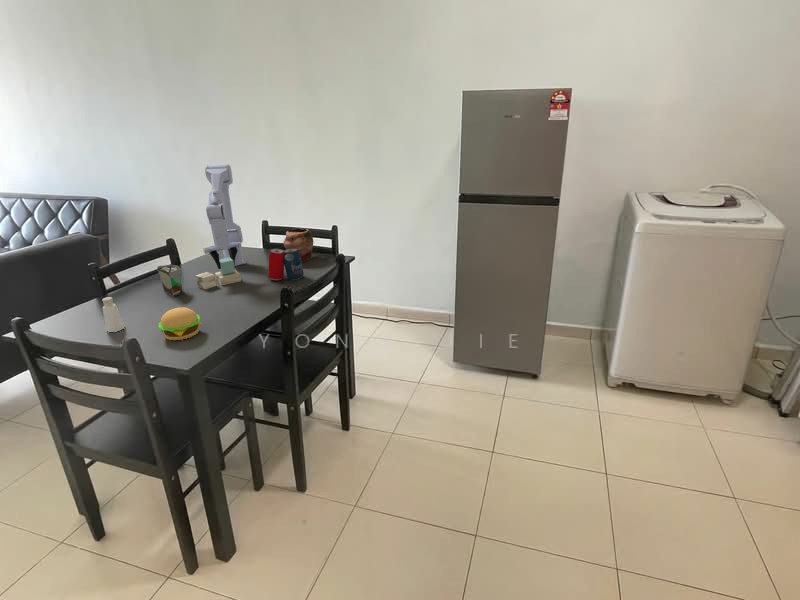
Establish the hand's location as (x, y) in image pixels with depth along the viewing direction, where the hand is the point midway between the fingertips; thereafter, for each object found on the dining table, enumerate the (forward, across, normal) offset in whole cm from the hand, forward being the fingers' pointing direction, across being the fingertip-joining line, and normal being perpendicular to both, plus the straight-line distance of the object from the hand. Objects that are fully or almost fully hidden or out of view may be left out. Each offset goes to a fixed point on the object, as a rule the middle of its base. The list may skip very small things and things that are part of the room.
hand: (226, 267), depth 186 cm
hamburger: (+6, -28, -40) cm, 49 cm away
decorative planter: (+6, +37, +7) cm, 38 cm away
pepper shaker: (+6, -44, -22) cm, 50 cm away
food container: (+6, -20, +1) cm, 21 cm away
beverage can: (+6, +15, -12) cm, 20 cm away
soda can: (+6, +23, -16) cm, 28 cm away
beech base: (+6, 0, 0) cm, 6 cm away
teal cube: (+2, 0, 0) cm, 2 cm away
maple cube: (+6, -9, -1) cm, 11 cm away
